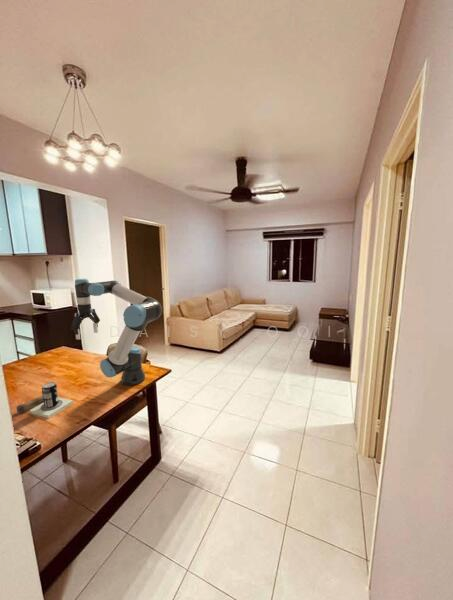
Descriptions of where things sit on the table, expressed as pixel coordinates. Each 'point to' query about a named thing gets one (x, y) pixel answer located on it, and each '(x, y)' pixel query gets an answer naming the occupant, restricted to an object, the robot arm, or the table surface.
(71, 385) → the table surface
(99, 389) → the table surface
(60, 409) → the board
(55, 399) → the beverage can
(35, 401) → the brown grey-ended bar
